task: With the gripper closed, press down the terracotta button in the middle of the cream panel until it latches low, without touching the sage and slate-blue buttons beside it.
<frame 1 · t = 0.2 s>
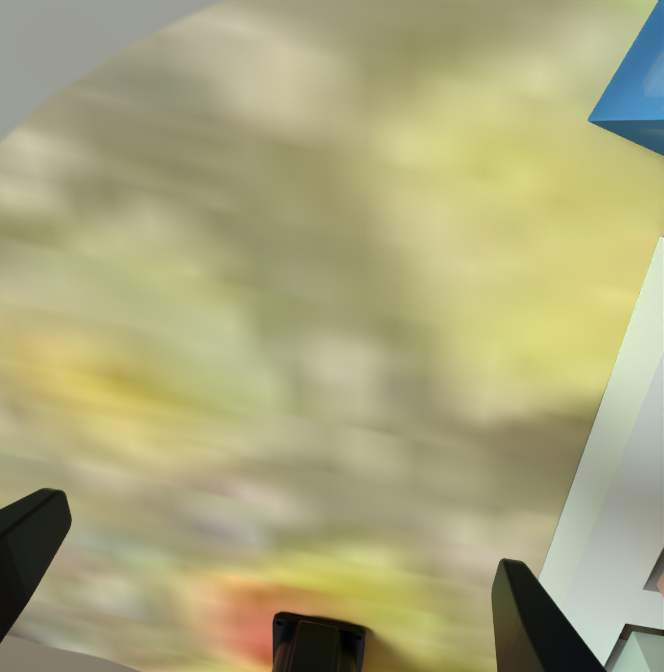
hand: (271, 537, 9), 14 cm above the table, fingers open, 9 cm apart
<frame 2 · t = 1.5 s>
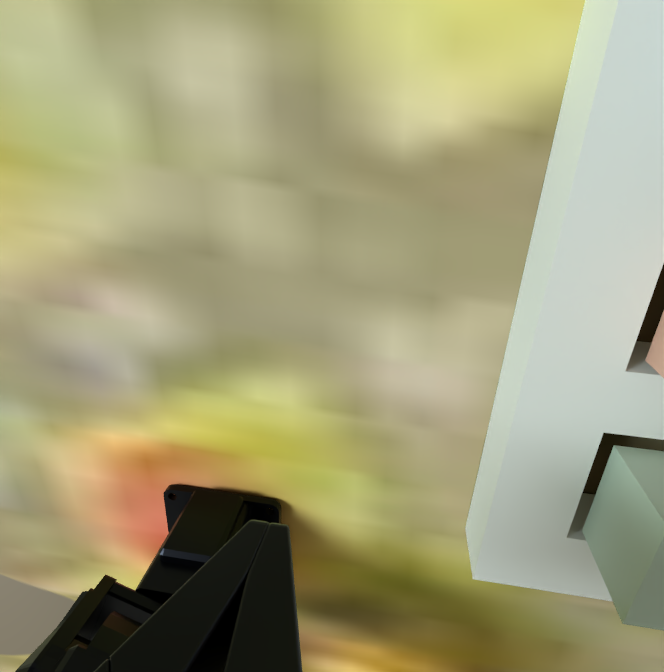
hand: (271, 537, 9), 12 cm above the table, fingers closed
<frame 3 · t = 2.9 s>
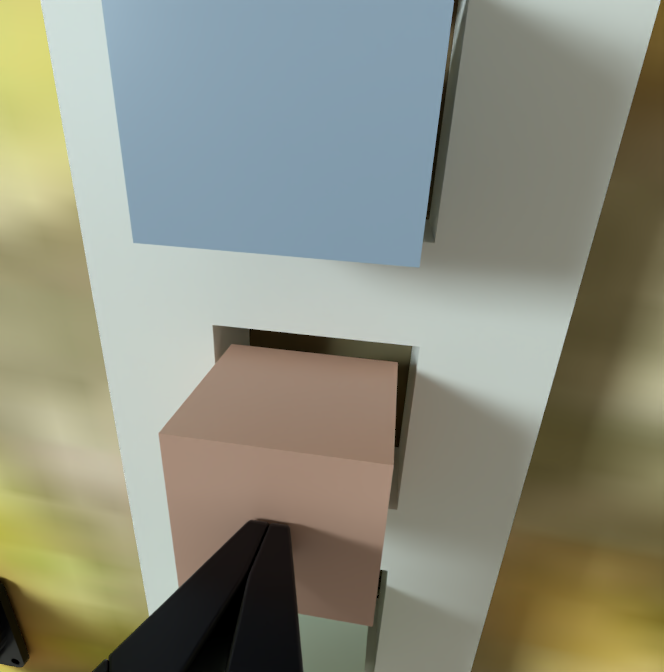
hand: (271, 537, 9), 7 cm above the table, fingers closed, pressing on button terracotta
panel: (327, 372, 16), on the table
button terracotta: (294, 470, 11), point 5 cm above the table, slide at 0.0 cm, touching gripper
button slate: (301, 98, 8), point 5 cm above the table, slide at 0.0 cm
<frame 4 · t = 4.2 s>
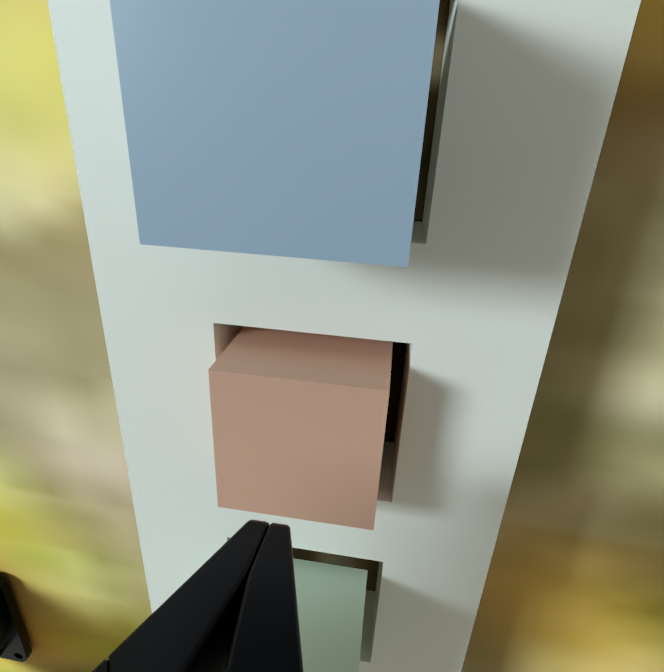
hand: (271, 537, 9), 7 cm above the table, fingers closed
panel: (324, 369, 16), on the table
button terracotta: (310, 411, 14), point 3 cm above the table, slide at 2.3 cm
button sage: (289, 660, 15), point 5 cm above the table, slide at 0.0 cm
button slate: (298, 107, 8), point 5 cm above the table, slide at 0.0 cm
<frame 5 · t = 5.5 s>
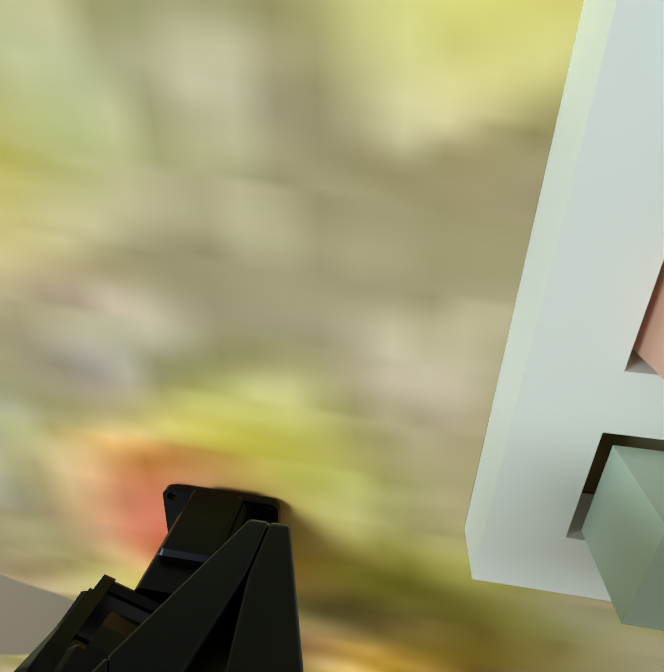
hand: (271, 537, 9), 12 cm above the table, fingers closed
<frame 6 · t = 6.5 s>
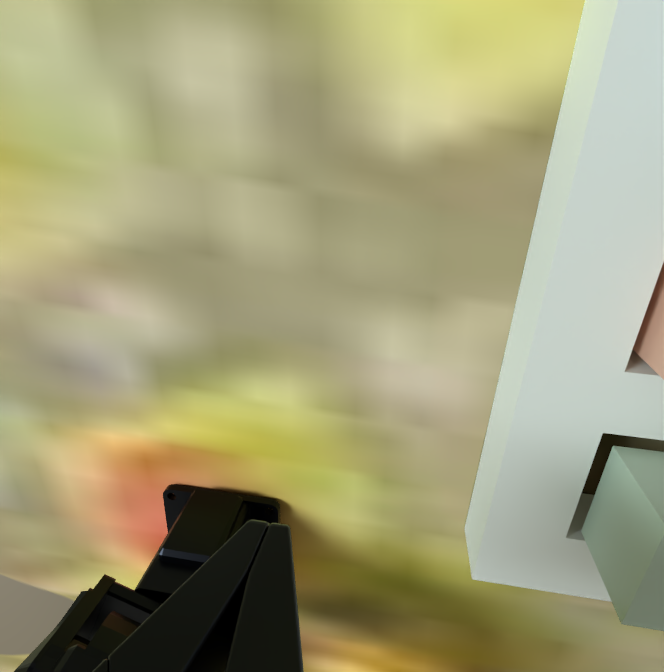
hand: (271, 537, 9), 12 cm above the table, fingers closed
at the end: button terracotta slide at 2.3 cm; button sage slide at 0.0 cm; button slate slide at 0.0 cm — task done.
